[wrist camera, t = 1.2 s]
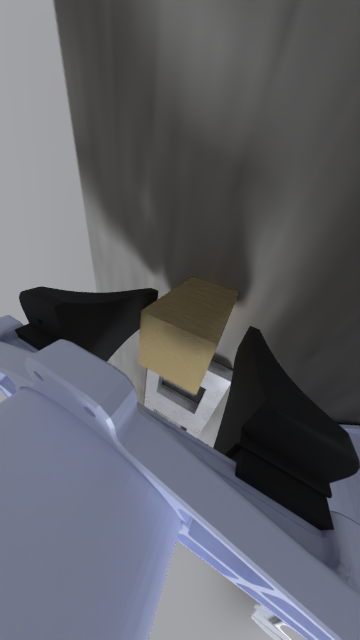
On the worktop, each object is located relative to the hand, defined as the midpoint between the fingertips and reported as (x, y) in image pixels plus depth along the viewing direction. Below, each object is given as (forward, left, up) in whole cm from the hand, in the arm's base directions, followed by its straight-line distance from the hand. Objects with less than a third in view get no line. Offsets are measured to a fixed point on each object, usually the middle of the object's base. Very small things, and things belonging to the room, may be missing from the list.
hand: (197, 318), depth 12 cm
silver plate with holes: (-12, +12, -3) cm, 17 cm away
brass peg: (0, 0, -3) cm, 3 cm away
